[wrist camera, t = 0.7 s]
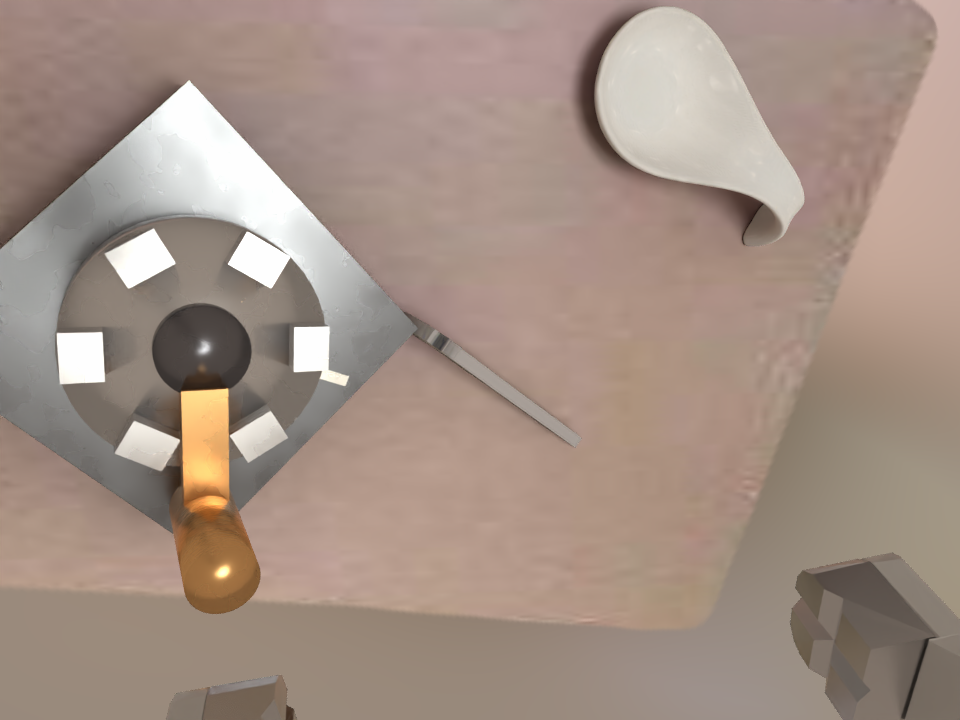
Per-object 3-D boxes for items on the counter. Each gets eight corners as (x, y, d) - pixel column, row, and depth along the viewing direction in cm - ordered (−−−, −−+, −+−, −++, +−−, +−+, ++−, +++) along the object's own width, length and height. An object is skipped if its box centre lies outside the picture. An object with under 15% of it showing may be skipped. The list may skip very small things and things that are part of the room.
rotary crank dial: (49, 208, 39) (32, 228, 29) (316, 219, 45) (372, 238, 36) (70, 536, 43) (63, 643, 34) (310, 505, 49) (358, 587, 40)
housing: (-88, 326, 41) (-106, 343, 37) (182, 85, 44) (189, 80, 40) (192, 524, 51) (199, 552, 47) (397, 316, 53) (418, 328, 50)
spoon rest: (546, 111, 55) (602, 107, 49) (628, -22, 55) (695, -43, 49) (724, 277, 67) (788, 290, 61) (791, 167, 67) (861, 169, 61)
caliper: (392, 321, 54) (425, 341, 48) (400, 308, 54) (434, 327, 48) (572, 446, 64) (616, 474, 59) (579, 435, 64) (623, 463, 59)
